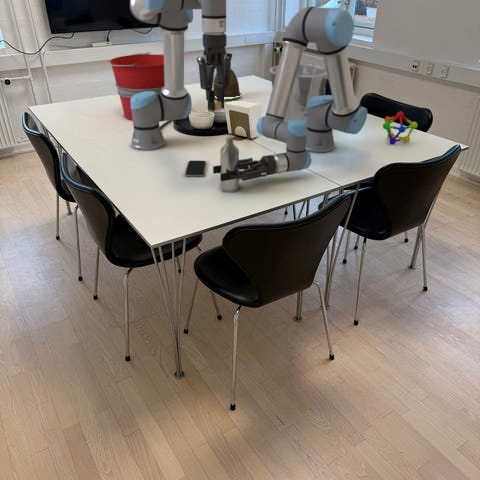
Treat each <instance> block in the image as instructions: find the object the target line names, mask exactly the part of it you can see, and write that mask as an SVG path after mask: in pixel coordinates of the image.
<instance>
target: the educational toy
mask: <svg viewBox="0 0 480 480" xmlns="http://www.w3.org/2000/svg"><path fill="white" fill-rule="evenodd" d="M397 119H399V124H400V125H399V127H398V126H393V125H391V124H392V123H394V122H395V121H396V120H397ZM403 120H404V121H405V122H407V123H408V124H409V125H407V126H404V123H403ZM417 127H418V122H417V121H411V120H410V119H409V118H408V117H406V116H405V113H404V112H403V111H401V110H400V111H398V112H397V114H396V115H394V116H391V117H390V116H386V117H385V118H384V122H383V123H382V129H383V130H386V132H387V138H388V142H389V145H395V144H396V143H397V142H402V141H403V142H404V143H409V142H410V140H411V138H410V136H411V134H412V132H413V131H414V130H415V129H417ZM392 129H393V130H397V131H398V132H396V134H395V133H394V132H392ZM408 129H409V131H408V133H407V134H406V135H404V136H401V134H403V133H405V132H406V130H408ZM399 135H400V136H399Z"/></svg>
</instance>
